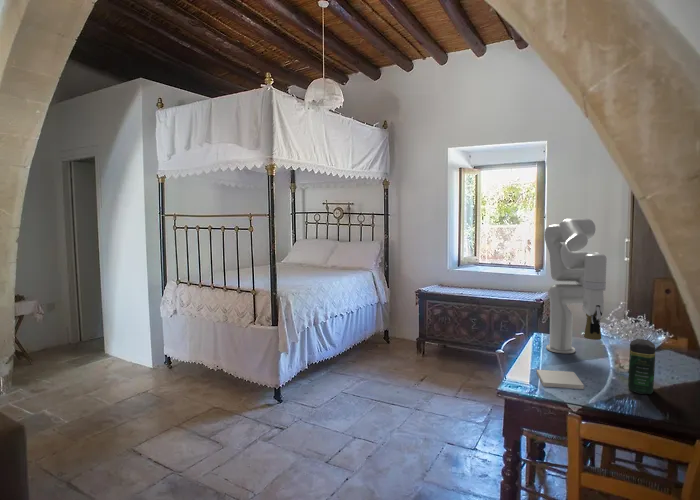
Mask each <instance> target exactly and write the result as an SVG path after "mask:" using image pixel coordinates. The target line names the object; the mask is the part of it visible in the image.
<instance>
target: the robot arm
mask: <svg viewBox="0 0 700 500" xmlns="http://www.w3.org/2000/svg"><path fill="white" fill-rule="evenodd" d="M595 233H596V224H595V222H594V221H593V220H592V219H590V218H565V219H564V220H561V221H560V223H559V224H557V223H556V224H550V225H548V226H547V227H546V228H545V229H544V241H545V244H546V247H547V250H548V254H549V263H550V265H549V266H550V275H551V279H552V280H553V281H554V282H555V281H556V282H567V284H565V283H561V284H560V283H559V284H558V283H557V284H553V285H552V286H550V287H549V289H548V298H549V304H550V305H549V306H550V309H549V310H550V316H549V317H550V318H549V319H550V320H549V321H550V322H549V343H548V344H547V345H546V346H545V348H546V350H548V352H552V353H556V354H557V353H558V354H564V355H565V354H574V353H575V352H576V348H575V347H574V346H572V345H573V318H574V317H573V316H574V315H573V312H572V311H571V309H570V308H569V306H570V305H573V306H575V305H578V306H580V305H582V308H581V309H582V312H583V313H585V315H586V314H587V315H589V316H591V323H590V333H591V334H593V333H594V332H596V333H597V334H599V333H600V329H601V319H602V316H603V315H604V310H605V309H604V307H605V304H604V299H605V297H604V291H606V290H607V289H606V287H607V286H606V284H607V283H606V282H607V281H606V280H607V256H606V255H605V254H603V253H601V252H598V251H582V249H585V247H586V246H587V245H588V242H589V239H591V238H592V237H593V236H595ZM580 250H581V251H580ZM568 282H570V283H571V282H573V283H574V282H575V284H569V283H568ZM600 313H601V314H600ZM594 314H596V316H593V315H594ZM594 317H596V318H594Z"/></svg>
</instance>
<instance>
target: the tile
mask: <svg viewBox="0 0 700 500" xmlns="http://www.w3.org/2000/svg"><path fill="white" fill-rule="evenodd" d="M536 375H537V377H538V379H539V381H540V383H541V384H542V386H543V387H550V388H564V389H579V390H584V389H585V386H584V383H583V382H582V381H581V379H580V378H579V377H578V376H577V374H576V373H575V372H574V371H566V370H565V371H563V370H548V369H545V370H544V369H536Z"/></svg>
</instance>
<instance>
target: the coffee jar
mask: <svg viewBox="0 0 700 500" xmlns="http://www.w3.org/2000/svg"><path fill="white" fill-rule="evenodd" d="M628 360H629V362H628V376H627V377H628V378H627V382H628V383H627V388H628V390H629V391H632V392H634V393H636V394H641V395H651V394H652V393H653V392H654V385H655V384H654V383H655V370H656V369H655V367H656V345H655V343H653V342H652V341H650V340H649V339H642V338H636V339H633V340H631V341H630V343H629V359H628Z"/></svg>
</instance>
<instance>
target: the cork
mask: <svg viewBox="0 0 700 500" xmlns="http://www.w3.org/2000/svg"><path fill="white" fill-rule="evenodd" d="M600 314H601V313H600ZM585 316H586V323H585V328H584V333H583V334H584V335H583V338H585V339H587V340H588V339H589V340H595V341H596V340H597V341H598V340H602V331H601V328H600V333H599V334H597V333H596V332H594V333H593V334H591V333H590V323H591V316H589V315H587V314H586V313H585ZM593 316H596V314H594V315H593ZM594 318H596V317H594Z"/></svg>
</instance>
